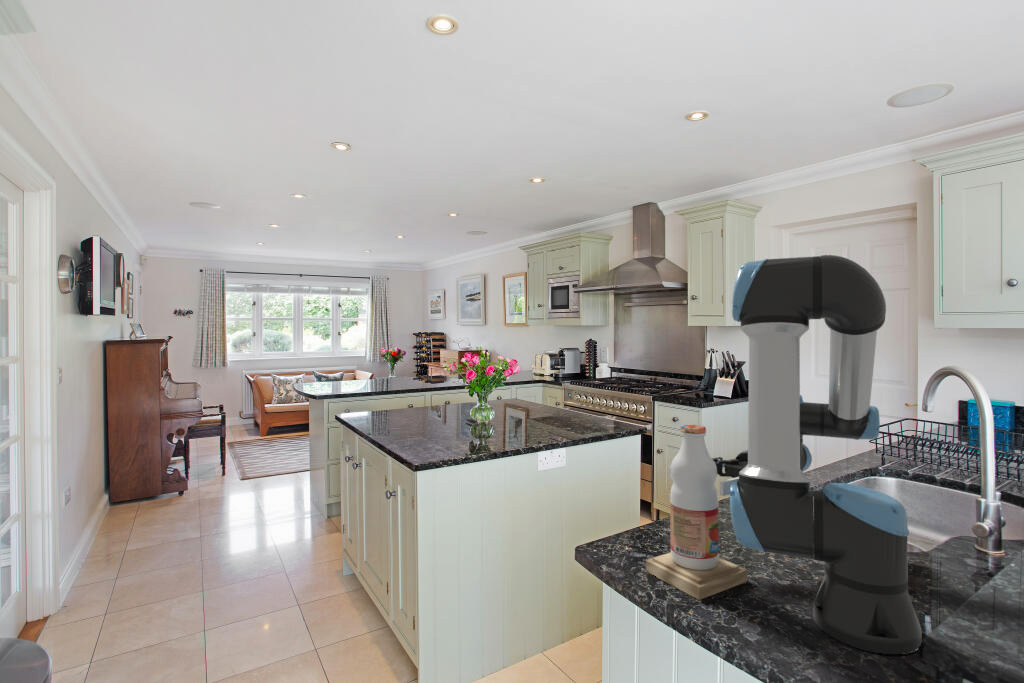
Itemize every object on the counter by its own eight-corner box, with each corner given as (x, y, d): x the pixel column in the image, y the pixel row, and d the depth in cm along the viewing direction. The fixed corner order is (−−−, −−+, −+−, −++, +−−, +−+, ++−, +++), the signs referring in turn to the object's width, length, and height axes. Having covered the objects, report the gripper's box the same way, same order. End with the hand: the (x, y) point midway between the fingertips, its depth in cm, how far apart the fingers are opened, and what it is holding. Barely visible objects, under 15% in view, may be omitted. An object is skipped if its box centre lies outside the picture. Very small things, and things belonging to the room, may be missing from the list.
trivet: (747, 581, 106) (746, 566, 106) (699, 600, 99) (699, 584, 99) (691, 556, 118) (691, 543, 118) (645, 571, 111) (645, 557, 111)
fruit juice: (666, 551, 114) (665, 422, 113) (711, 552, 113) (710, 422, 112) (676, 570, 104) (675, 430, 104) (725, 572, 103) (724, 430, 103)
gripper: (813, 496, 109) (747, 516, 98) (713, 469, 130) (650, 484, 119) (813, 460, 109) (747, 476, 98) (713, 439, 130) (650, 451, 119)
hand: (694, 480), depth 109 cm, fingers open, 12 cm apart
